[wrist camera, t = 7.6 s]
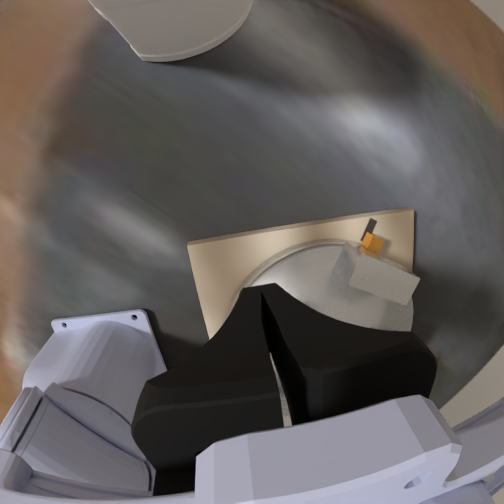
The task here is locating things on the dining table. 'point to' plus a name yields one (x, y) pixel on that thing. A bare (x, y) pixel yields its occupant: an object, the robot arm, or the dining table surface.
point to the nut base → (279, 238)
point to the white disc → (340, 285)
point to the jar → (174, 24)
